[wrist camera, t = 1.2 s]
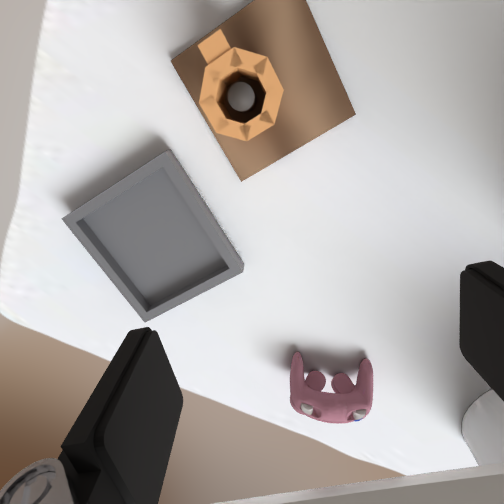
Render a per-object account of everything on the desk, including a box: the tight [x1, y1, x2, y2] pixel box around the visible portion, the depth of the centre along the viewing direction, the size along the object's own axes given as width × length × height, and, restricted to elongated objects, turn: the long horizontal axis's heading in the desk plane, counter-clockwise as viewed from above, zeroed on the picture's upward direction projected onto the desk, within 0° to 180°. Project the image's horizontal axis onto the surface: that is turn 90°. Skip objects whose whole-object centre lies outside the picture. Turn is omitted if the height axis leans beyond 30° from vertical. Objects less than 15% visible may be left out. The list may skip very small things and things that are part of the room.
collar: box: [197, 29, 284, 141], centre depth 27 cm, size 6×8×5 cm
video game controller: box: [290, 352, 373, 423], centre depth 39 cm, size 10×5×7 cm, turn 86°
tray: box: [62, 150, 244, 322], centre depth 35 cm, size 13×14×2 cm
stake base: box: [171, 0, 356, 182], centre depth 27 cm, size 12×12×6 cm
